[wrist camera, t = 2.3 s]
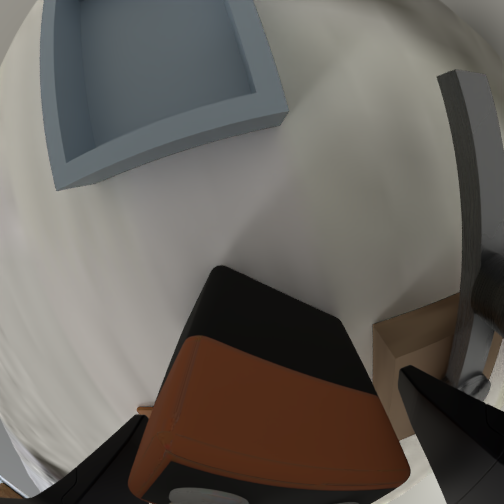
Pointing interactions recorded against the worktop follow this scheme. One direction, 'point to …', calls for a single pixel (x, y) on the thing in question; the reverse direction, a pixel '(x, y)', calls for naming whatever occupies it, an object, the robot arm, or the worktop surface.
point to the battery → (265, 408)
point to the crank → (476, 227)
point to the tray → (150, 81)
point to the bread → (8, 492)
